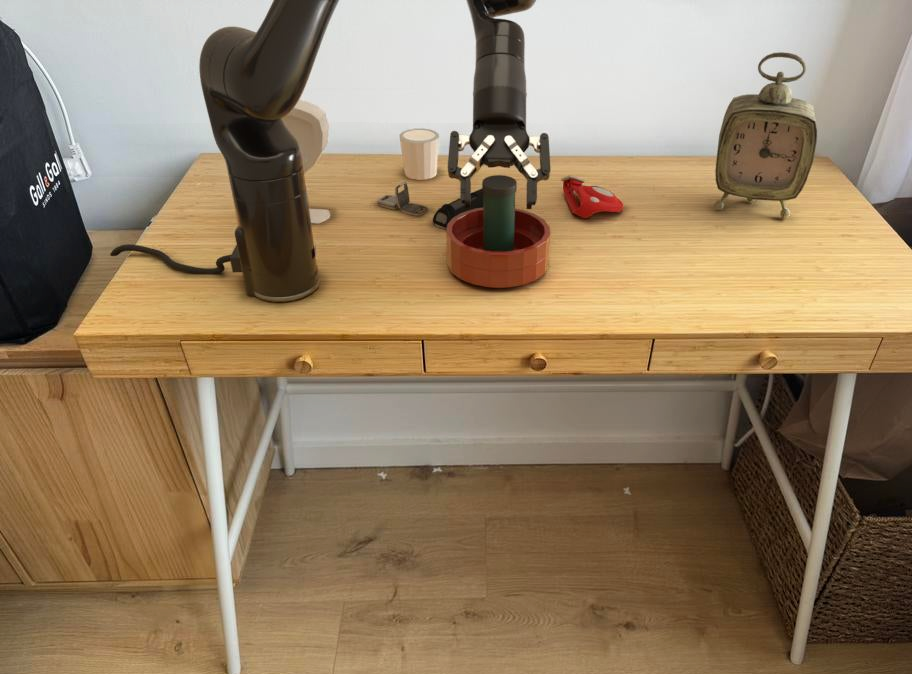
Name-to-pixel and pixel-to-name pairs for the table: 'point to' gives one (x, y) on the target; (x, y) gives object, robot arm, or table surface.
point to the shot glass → (420, 153)
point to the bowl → (498, 266)
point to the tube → (498, 213)
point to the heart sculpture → (309, 140)
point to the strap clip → (401, 202)
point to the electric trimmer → (456, 209)
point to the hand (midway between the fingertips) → (498, 206)
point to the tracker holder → (589, 198)
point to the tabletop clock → (766, 143)
